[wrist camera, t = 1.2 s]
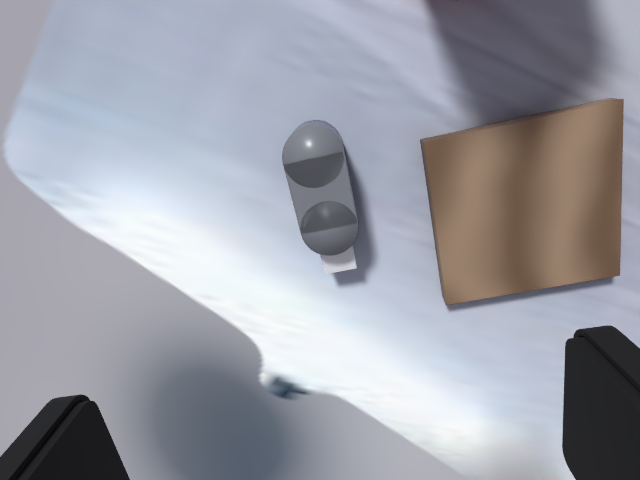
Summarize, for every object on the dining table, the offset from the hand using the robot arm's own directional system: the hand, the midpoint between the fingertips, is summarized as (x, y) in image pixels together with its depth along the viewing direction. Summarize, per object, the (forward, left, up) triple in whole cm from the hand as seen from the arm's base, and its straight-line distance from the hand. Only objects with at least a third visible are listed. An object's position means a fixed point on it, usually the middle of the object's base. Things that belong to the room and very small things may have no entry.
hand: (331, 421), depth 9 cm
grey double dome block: (+1, +1, -25) cm, 25 cm away
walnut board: (-13, +6, -25) cm, 29 cm away
